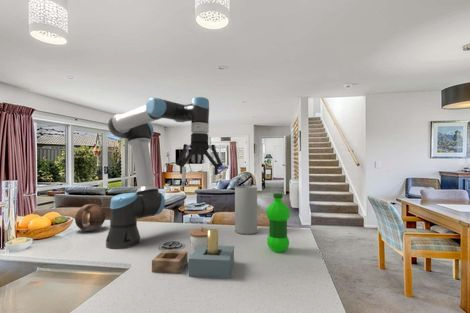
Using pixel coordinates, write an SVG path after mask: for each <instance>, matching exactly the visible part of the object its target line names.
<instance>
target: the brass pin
mask: <svg viewBox="0 0 470 313" xmlns="http://www.w3.org/2000/svg"><path fill="white" fill-rule="evenodd" d="M207 229H208V230H207V255H218V246H219V229H217V228H207Z"/></svg>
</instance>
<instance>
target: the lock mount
mask: <svg viewBox="0 0 470 313" xmlns="http://www.w3.org/2000/svg"><path fill="white" fill-rule="evenodd" d="M188 255H189V254H188V251H184V250H183V251H181V250H162V251H161V252H159V254H158V255H156V256H155V257H154V258H153V259H152V260H151V272H152V273H167V274H170V273H171V274H180V273H181V271H182V270H183V269H184V268H185V266H186V265H187V264H188V263H189V257H188Z"/></svg>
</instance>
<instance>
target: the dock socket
mask: <svg viewBox="0 0 470 313" xmlns="http://www.w3.org/2000/svg"><path fill="white" fill-rule="evenodd" d="M234 264H235V246H232V245H231V246H230V245H229V246H228V245H218V255H207V245H199V246H198V247H197V248H196V250H195V249H194V251H193V252H192V253H191V255H190V256H189V257H188V277H193V278H195V277H196V278H197V277H198V278H212V279H231V274H232V270H233V267H234Z"/></svg>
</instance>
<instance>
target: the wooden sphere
mask: <svg viewBox="0 0 470 313" xmlns="http://www.w3.org/2000/svg"><path fill="white" fill-rule="evenodd" d="M106 215H107V214H106V211H105V210H104V208H103V207H102V206H101V205H98V204H97V203H96V204H95V203H89V204H88V203H87V204H84V205H83V206H81V207H80V208H79V209H78V210H77V211H76V214H75V217H74V222H75V225H76V227H77V228H78V229H80V230H81V231H85V232H91V231H96V230H98V229H99V228H101V227H102V225H104V223H105V220H106V217H107V216H106Z"/></svg>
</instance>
